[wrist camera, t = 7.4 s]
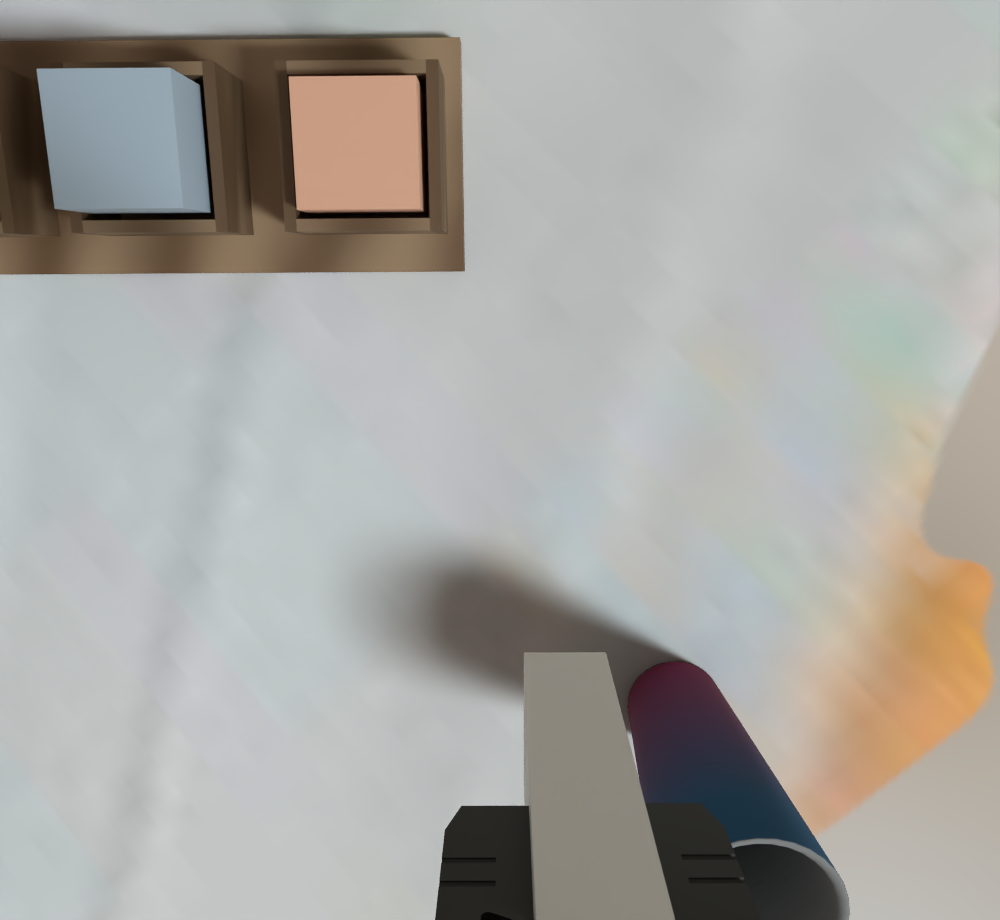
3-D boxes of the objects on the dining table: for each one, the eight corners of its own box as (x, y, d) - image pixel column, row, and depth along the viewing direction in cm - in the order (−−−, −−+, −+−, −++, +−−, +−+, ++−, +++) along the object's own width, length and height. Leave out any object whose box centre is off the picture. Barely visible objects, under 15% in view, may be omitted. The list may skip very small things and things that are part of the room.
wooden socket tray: (-75, 274, 39) (-150, 275, 35) (-113, 48, 37) (-199, 18, 32) (464, 271, 39) (459, 271, 34) (460, 43, 36) (454, 12, 32)
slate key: (93, 213, 34) (54, 208, 31) (77, 86, 33) (36, 68, 30) (210, 212, 34) (183, 207, 31) (199, 84, 33) (170, 67, 30)
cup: (706, 625, 43) (809, 810, 28) (755, 728, 44) (877, 954, 30) (590, 677, 44) (632, 882, 29) (641, 776, 45) (707, 1020, 31)
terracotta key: (313, 214, 36) (296, 209, 33) (306, 92, 35) (288, 76, 32) (426, 213, 36) (419, 208, 33) (423, 91, 35) (416, 75, 32)
